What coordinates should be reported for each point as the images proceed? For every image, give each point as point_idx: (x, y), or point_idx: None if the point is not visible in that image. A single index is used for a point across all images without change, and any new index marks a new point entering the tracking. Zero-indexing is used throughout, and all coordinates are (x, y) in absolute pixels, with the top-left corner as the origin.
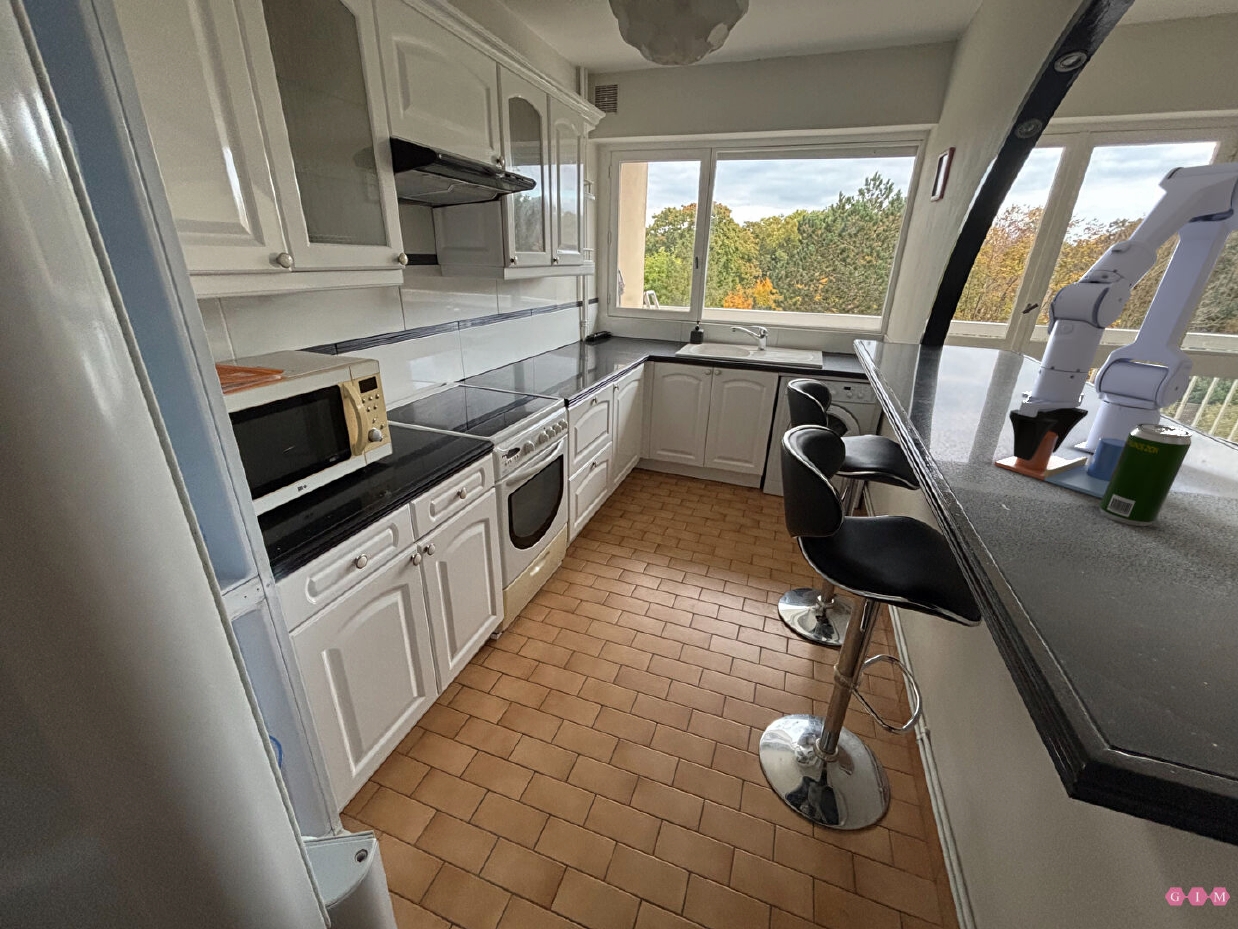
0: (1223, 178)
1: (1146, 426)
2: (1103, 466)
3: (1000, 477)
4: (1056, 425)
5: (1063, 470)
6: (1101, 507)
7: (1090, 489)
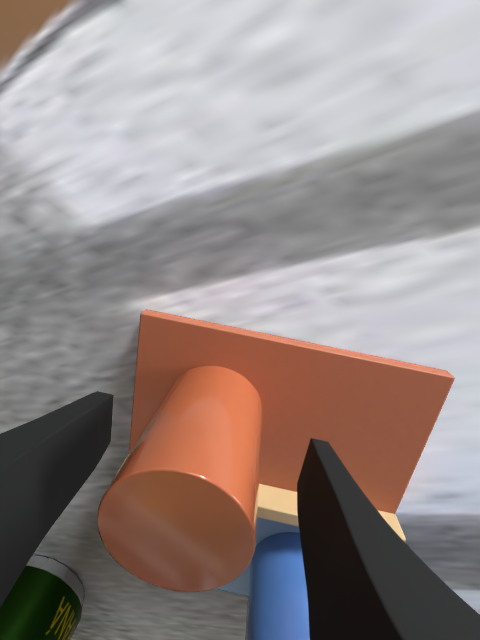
0: None
1: None
2: (248, 603)
3: (38, 358)
4: (328, 608)
5: None
6: None
7: None
